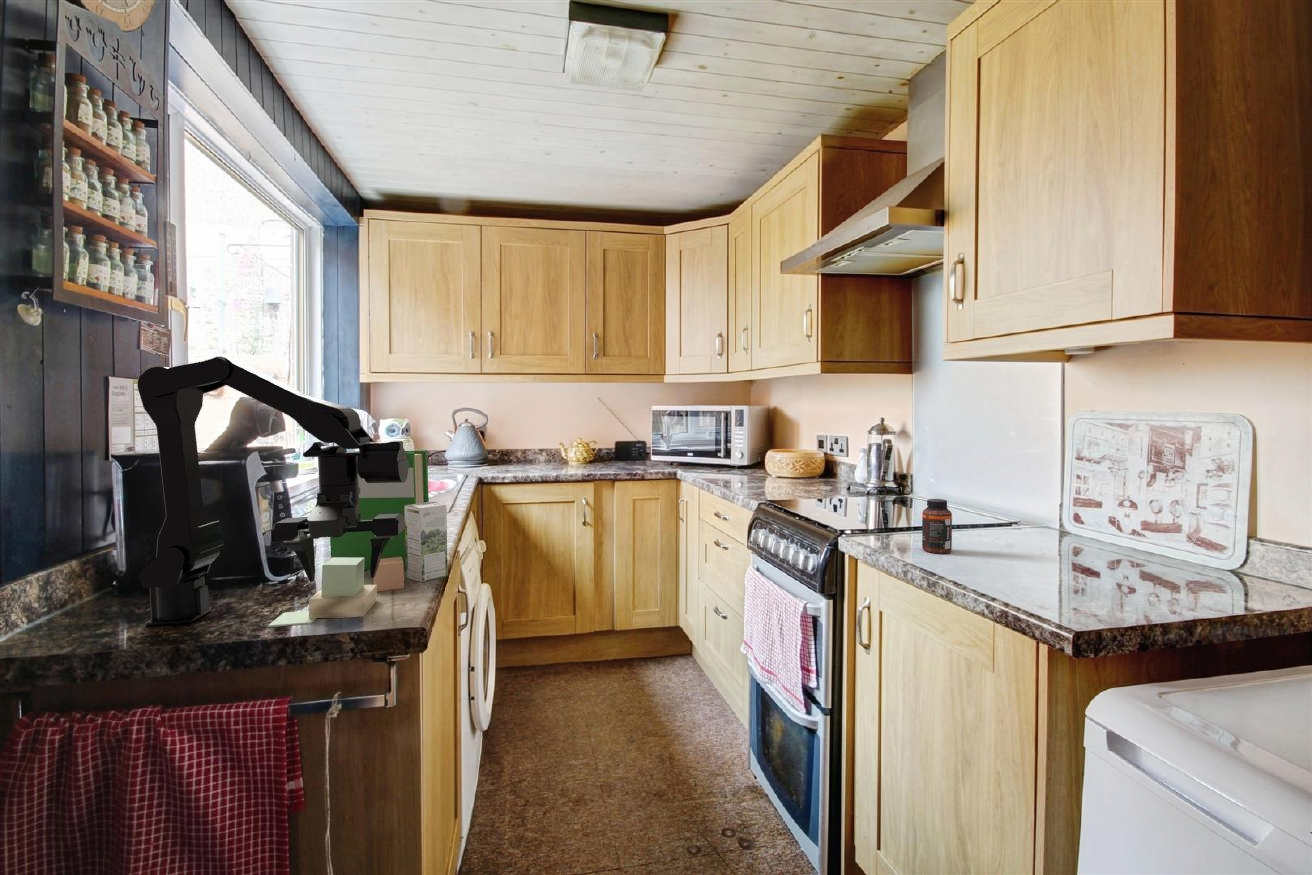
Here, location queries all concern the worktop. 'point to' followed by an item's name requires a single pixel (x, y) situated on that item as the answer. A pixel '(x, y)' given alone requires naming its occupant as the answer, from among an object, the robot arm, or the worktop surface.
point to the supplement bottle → (937, 527)
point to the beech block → (342, 604)
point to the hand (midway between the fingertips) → (342, 579)
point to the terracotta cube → (389, 574)
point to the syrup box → (426, 541)
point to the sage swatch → (292, 619)
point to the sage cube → (342, 576)
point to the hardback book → (385, 510)
